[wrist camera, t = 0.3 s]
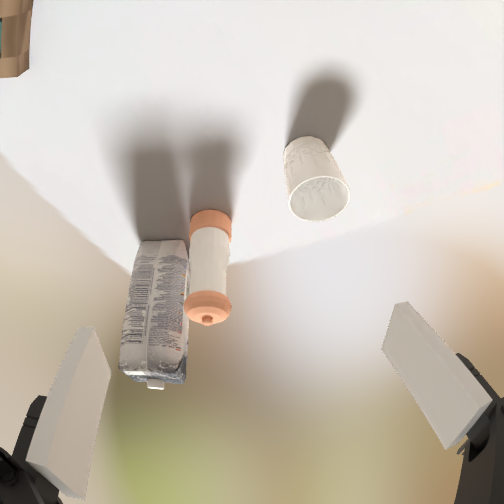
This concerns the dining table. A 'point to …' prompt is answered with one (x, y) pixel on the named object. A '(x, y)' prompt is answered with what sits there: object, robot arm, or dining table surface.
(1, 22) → the plug
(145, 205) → the dining table surface
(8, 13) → the holster
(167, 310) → the juice carton
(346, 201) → the white cup
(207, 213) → the pepper shaker
